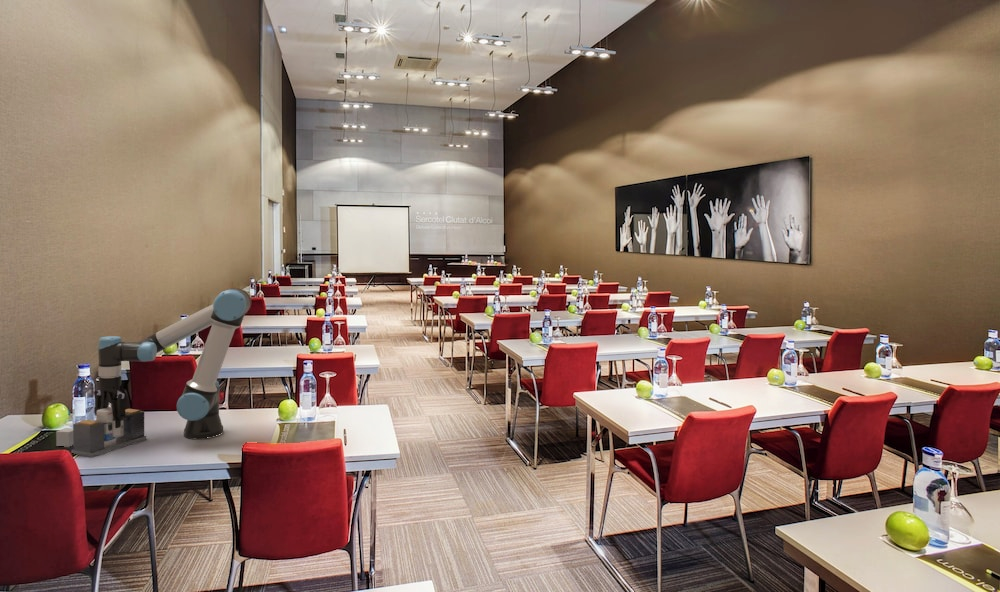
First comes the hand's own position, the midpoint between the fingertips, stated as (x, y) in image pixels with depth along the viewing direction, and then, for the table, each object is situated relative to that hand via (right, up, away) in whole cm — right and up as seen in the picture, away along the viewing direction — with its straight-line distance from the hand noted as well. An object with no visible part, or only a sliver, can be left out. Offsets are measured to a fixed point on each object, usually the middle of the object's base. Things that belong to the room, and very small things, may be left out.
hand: (110, 434), depth 241 cm
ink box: (0, -1, 0) cm, 2 cm away
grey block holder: (0, -5, 0) cm, 5 cm away
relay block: (-17, -4, 0) cm, 17 cm away
